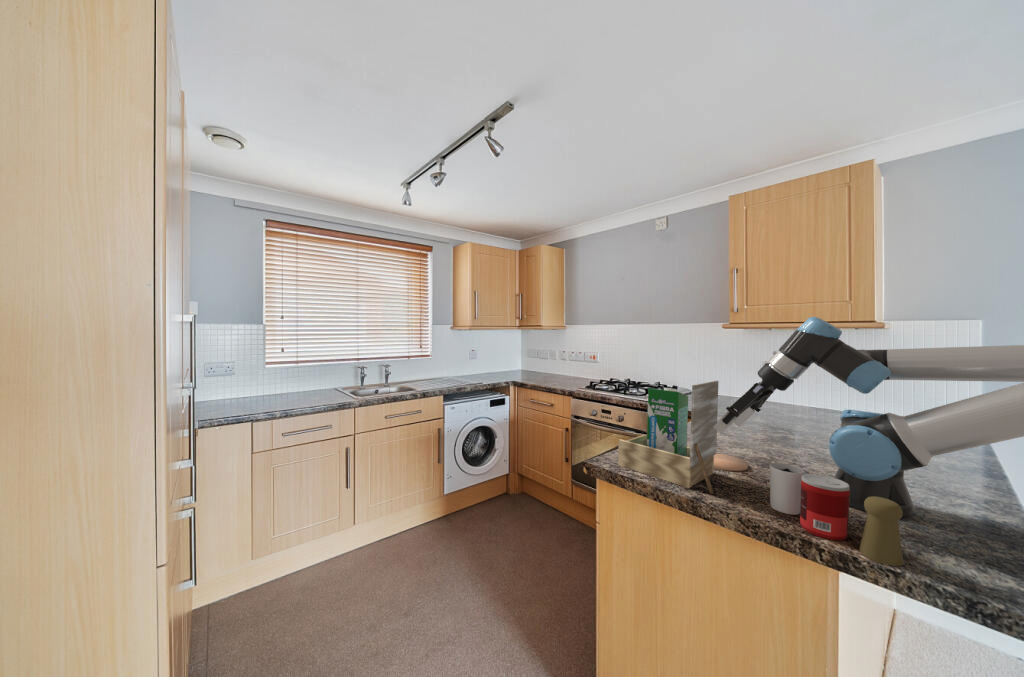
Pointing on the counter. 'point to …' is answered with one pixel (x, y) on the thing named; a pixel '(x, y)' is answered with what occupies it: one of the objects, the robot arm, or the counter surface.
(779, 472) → the white cylindrical container
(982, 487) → the counter surface
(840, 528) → the canned food
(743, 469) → the peach round coaster
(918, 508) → the counter surface
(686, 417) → the milk carton
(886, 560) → the cork
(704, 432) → the cold frame
